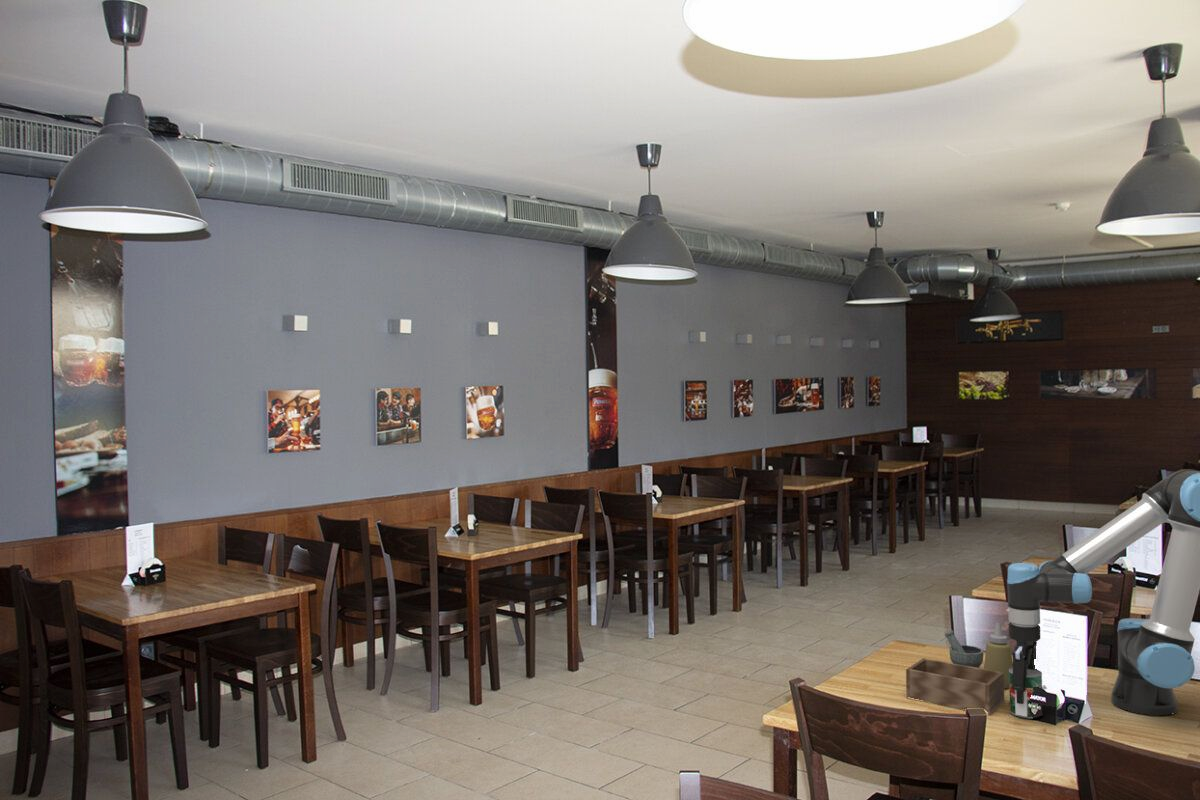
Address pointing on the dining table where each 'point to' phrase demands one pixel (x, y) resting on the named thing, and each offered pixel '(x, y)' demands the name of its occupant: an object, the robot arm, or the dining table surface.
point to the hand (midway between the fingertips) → (1026, 710)
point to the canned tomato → (1031, 681)
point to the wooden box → (955, 685)
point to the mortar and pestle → (964, 652)
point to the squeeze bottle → (999, 654)
